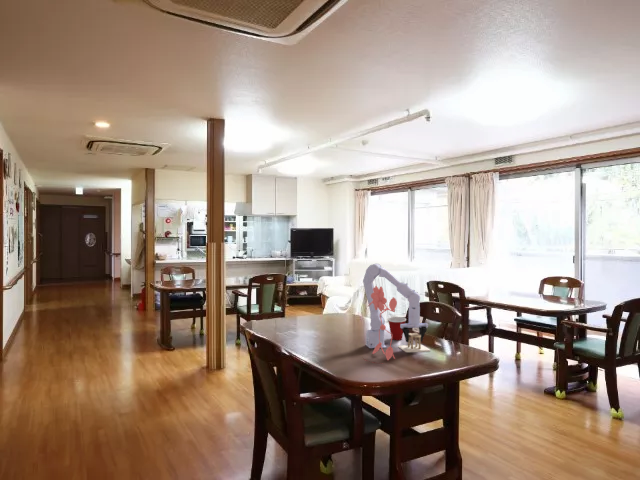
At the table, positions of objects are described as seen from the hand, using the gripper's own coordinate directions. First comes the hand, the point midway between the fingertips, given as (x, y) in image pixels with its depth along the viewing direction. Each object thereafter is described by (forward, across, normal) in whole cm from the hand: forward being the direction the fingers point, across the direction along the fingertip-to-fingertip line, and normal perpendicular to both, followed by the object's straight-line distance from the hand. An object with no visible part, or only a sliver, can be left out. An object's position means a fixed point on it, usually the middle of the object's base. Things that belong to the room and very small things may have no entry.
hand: (414, 341), depth 229 cm
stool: (+3, 0, 0) cm, 3 cm away
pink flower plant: (+4, -24, -13) cm, 28 cm away
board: (+4, 0, 0) cm, 4 cm away
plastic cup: (+4, -1, +23) cm, 23 cm away
